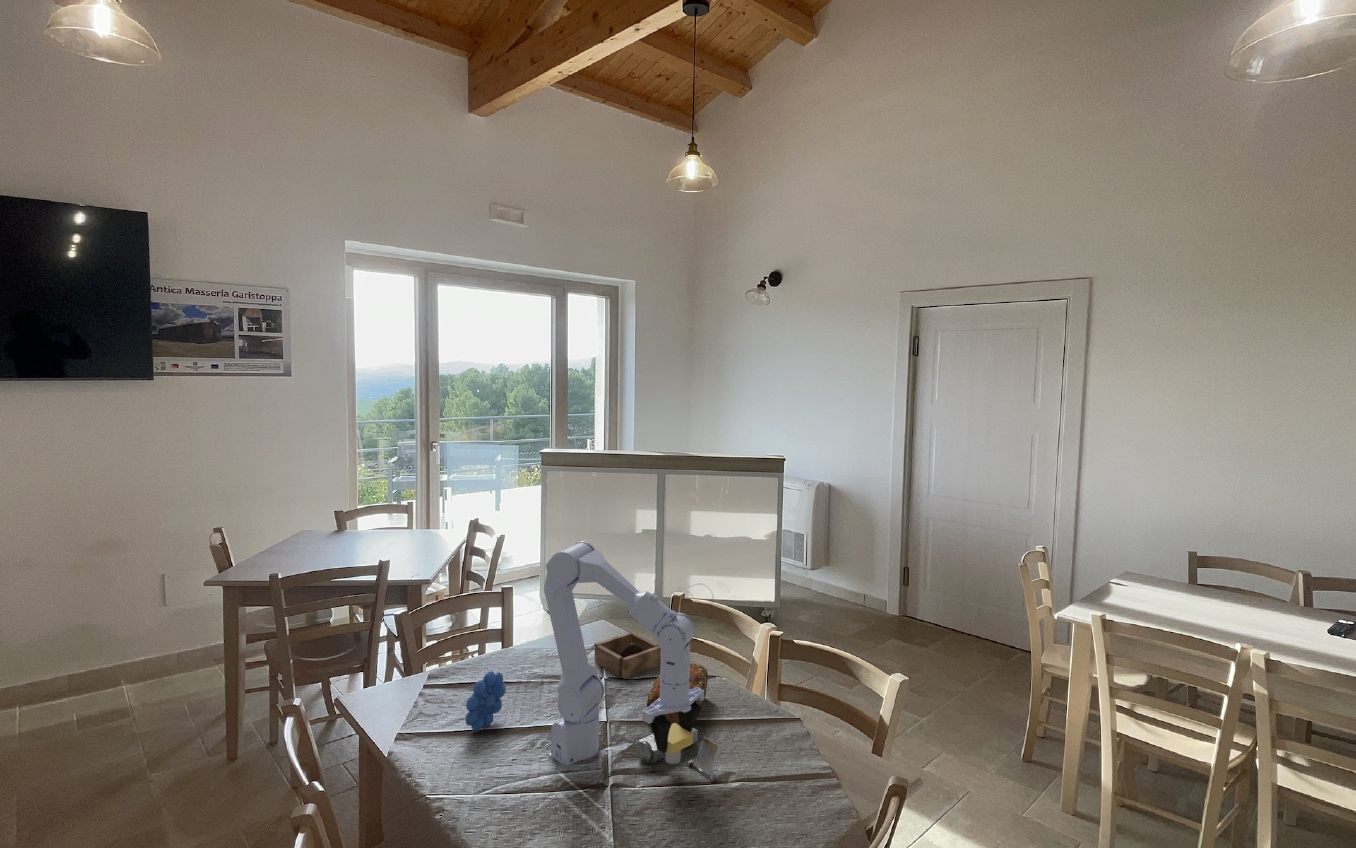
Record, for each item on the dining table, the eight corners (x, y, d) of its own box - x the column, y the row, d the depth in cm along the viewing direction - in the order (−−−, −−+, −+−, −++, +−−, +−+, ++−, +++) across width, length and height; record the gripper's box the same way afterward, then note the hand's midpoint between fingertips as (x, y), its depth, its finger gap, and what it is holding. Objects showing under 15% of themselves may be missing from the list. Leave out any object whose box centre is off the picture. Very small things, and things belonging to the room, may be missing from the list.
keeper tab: (712, 781, 133) (709, 781, 133) (692, 768, 138) (689, 768, 137) (723, 747, 135) (720, 747, 134) (703, 735, 139) (700, 735, 138)
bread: (689, 738, 150) (690, 694, 149) (643, 730, 153) (644, 687, 152) (709, 698, 168) (710, 658, 167) (667, 691, 171) (668, 653, 170)
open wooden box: (622, 679, 177) (623, 660, 176) (592, 661, 186) (592, 644, 186) (662, 664, 186) (662, 646, 185) (631, 648, 195) (631, 631, 195)
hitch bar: (688, 801, 128) (689, 774, 128) (635, 763, 140) (635, 738, 140) (735, 774, 137) (736, 749, 136) (681, 740, 149) (681, 717, 148)
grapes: (490, 709, 160) (490, 660, 159) (512, 717, 157) (512, 666, 156) (452, 733, 150) (451, 680, 149) (475, 741, 147) (474, 687, 146)
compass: (632, 657, 190) (632, 631, 189) (642, 669, 183) (643, 642, 182) (604, 661, 187) (605, 636, 186) (614, 674, 180) (614, 647, 179)
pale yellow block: (671, 771, 132) (672, 744, 131) (653, 758, 136) (654, 732, 135) (692, 760, 135) (693, 734, 135) (674, 748, 139) (674, 722, 139)
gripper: (660, 698, 126) (658, 768, 127) (715, 675, 136) (713, 740, 137) (636, 684, 131) (634, 751, 132) (691, 662, 141) (689, 725, 142)
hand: (673, 744), depth 135 cm, fingers closed on pale yellow block, 5 cm apart
